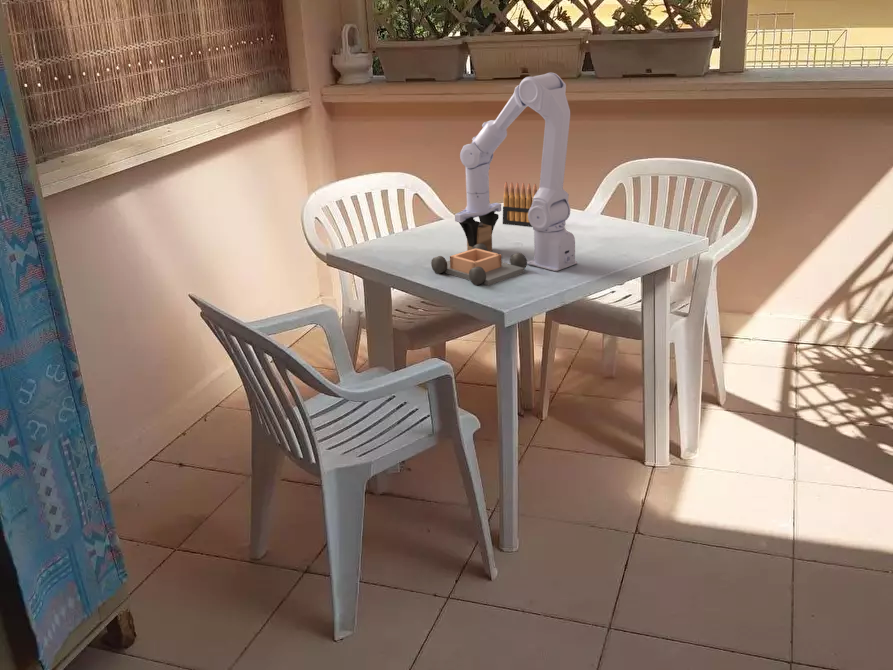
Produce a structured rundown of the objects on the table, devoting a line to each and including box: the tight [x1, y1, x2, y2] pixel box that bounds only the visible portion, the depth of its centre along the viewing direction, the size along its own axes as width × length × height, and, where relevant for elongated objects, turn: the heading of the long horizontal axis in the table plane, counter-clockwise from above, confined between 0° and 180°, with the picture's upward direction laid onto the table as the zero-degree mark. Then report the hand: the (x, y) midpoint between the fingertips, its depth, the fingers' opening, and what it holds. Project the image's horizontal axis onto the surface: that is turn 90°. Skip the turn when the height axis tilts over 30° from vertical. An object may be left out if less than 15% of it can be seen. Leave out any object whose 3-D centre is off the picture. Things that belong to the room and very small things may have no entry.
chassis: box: [430, 243, 528, 286], centre depth 209 cm, size 18×15×4 cm
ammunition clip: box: [502, 181, 538, 228], centre depth 245 cm, size 11×2×12 cm, turn 60°
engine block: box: [466, 221, 493, 252], centre depth 224 cm, size 4×4×7 cm
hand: (479, 244), depth 225 cm, fingers closed on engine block, 4 cm apart
